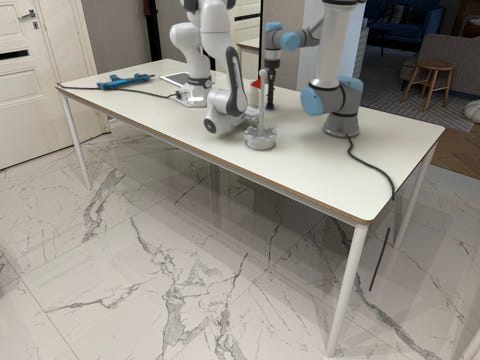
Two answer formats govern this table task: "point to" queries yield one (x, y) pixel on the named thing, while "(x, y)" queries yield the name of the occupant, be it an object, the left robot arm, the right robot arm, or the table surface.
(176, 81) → the tablet
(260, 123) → the flag stand
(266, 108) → the cap
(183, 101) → the left robot arm
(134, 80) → the submachine gun
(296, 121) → the table surface
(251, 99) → the bottle
